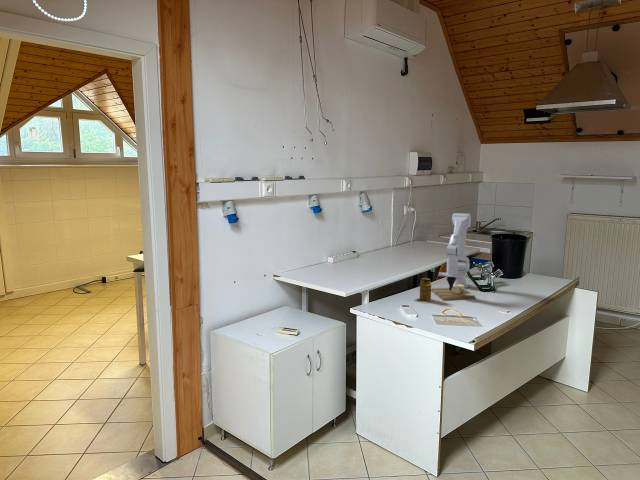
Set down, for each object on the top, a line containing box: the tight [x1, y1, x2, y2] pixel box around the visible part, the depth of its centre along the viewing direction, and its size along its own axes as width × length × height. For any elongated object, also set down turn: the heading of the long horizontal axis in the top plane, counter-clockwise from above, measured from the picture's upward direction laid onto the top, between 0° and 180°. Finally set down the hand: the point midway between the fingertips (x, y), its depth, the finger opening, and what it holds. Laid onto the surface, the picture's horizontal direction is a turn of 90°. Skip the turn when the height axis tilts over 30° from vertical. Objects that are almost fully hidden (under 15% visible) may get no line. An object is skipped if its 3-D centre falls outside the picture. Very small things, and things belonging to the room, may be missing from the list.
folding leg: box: [451, 284, 466, 294], centre depth 268 cm, size 12×4×3 cm, turn 139°
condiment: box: [414, 277, 434, 304], centre depth 258 cm, size 7×8×12 cm
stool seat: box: [431, 287, 476, 301], centre depth 268 cm, size 18×18×2 cm
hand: (451, 290), depth 266 cm, fingers closed, pressing on folding leg
